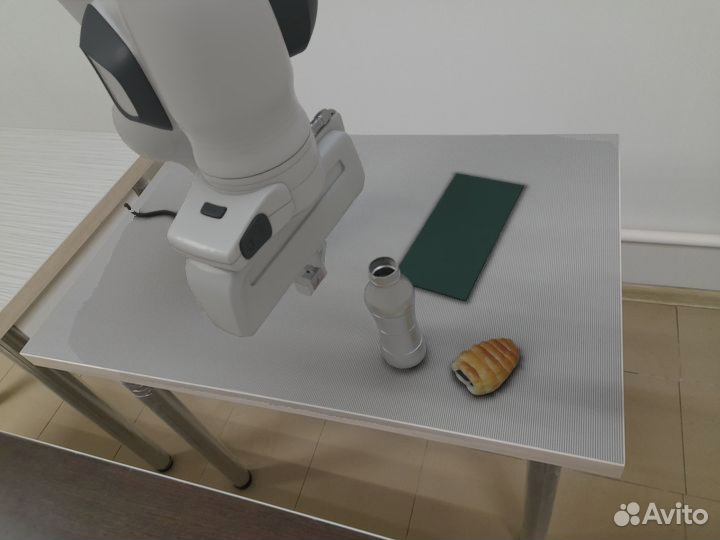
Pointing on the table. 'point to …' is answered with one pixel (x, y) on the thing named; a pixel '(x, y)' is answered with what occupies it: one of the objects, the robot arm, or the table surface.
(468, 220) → the mat
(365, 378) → the table surface
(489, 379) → the pastry
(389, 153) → the table surface
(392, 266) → the plastic bottle
